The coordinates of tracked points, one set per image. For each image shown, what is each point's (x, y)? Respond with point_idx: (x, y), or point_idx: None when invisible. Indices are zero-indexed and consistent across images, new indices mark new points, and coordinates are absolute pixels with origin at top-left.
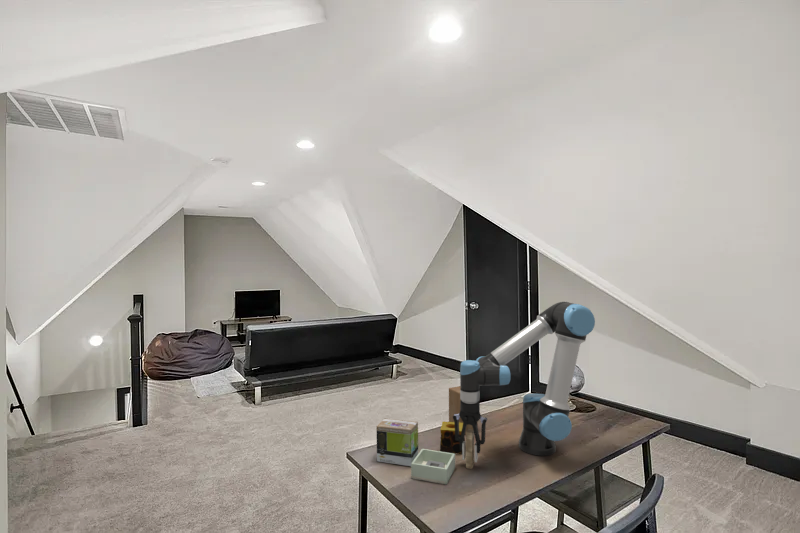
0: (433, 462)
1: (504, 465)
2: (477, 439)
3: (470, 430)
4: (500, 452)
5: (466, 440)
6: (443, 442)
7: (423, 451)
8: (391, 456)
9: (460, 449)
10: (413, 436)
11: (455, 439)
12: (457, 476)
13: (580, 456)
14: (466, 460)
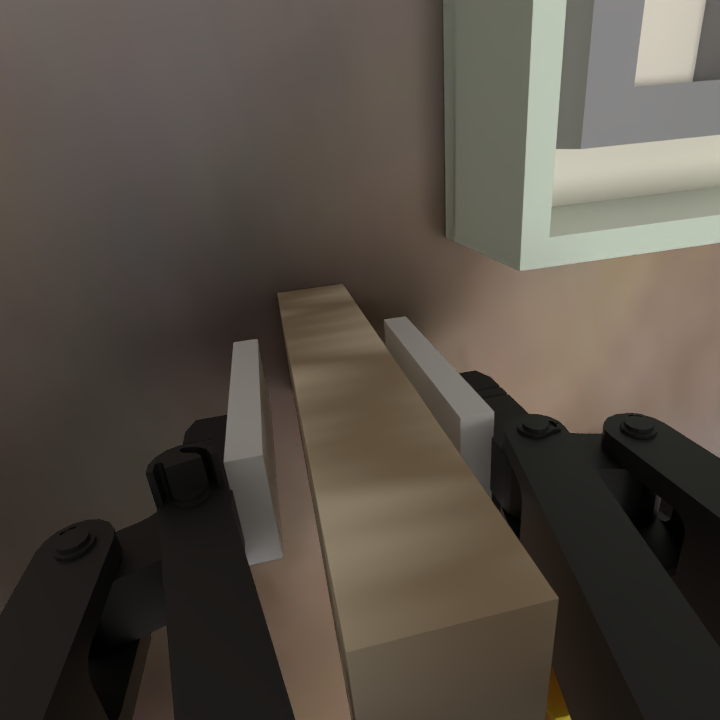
0: (706, 99)
1: (7, 516)
2: (192, 568)
3: None
4: (160, 681)
5: (440, 447)
6: (666, 512)
7: None
8: None
9: (477, 377)
10: None
11: (650, 421)
12: (371, 37)
13: None
14: (352, 308)
